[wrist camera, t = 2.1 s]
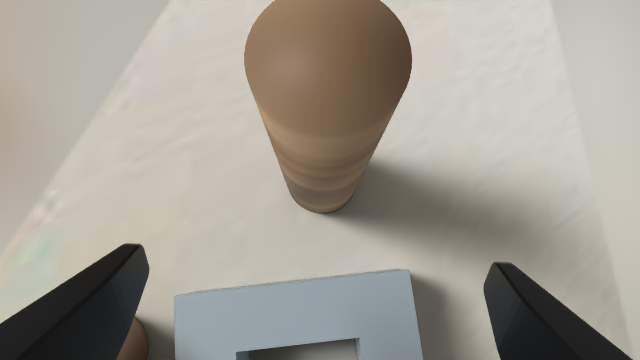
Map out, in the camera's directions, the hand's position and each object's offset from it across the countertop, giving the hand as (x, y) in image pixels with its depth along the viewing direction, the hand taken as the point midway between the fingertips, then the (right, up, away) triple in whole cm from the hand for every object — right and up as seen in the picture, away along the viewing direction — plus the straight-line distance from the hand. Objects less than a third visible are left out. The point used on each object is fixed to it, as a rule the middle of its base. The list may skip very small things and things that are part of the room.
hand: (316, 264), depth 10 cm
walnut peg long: (0, +2, +12) cm, 12 cm away
